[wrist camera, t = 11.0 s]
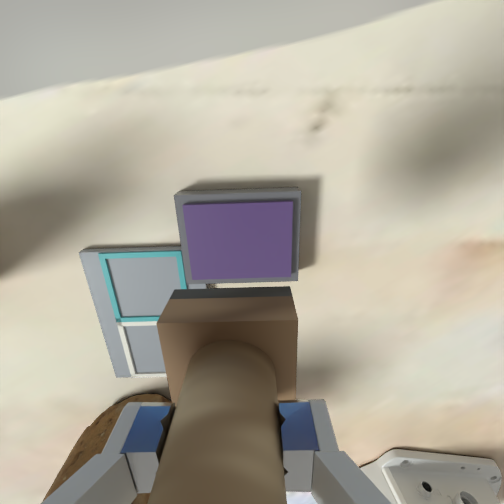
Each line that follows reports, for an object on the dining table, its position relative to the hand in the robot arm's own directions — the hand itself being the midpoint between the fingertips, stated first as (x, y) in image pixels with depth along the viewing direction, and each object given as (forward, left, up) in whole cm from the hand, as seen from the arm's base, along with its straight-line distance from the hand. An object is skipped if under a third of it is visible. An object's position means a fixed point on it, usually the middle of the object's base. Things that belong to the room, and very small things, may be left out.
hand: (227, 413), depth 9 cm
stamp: (0, 0, -4) cm, 4 cm away
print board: (+9, +8, -17) cm, 21 cm away
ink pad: (0, 0, -17) cm, 17 cm away
